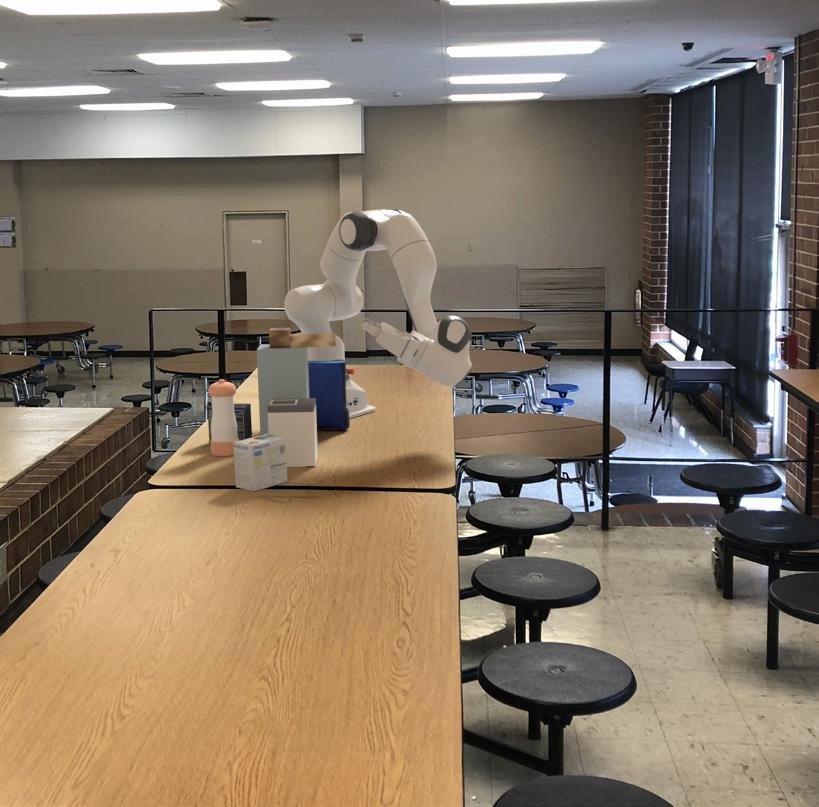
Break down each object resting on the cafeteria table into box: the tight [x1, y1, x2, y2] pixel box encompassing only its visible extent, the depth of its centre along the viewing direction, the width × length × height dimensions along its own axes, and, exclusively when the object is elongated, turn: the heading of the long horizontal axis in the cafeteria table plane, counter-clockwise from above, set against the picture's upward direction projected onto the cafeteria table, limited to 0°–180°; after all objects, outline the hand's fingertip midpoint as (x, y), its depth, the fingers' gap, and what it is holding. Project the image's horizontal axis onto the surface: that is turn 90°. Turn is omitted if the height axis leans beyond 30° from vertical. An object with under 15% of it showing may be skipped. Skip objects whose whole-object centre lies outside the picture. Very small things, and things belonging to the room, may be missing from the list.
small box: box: [207, 403, 253, 447], centre depth 297 cm, size 11×6×10 cm, turn 84°
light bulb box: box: [233, 434, 288, 492], centre depth 254 cm, size 11×7×11 cm, turn 141°
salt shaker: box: [207, 378, 239, 457], centre depth 285 cm, size 7×7×19 cm
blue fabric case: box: [308, 359, 351, 431], centre depth 310 cm, size 14×5×20 cm, turn 84°
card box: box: [267, 398, 319, 468], centre depth 274 cm, size 11×10×15 cm
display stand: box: [256, 343, 309, 436], centre depth 286 cm, size 13×11×27 cm
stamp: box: [268, 327, 337, 348], centre depth 283 cm, size 16×5×4 cm, turn 91°
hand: (362, 322), depth 282 cm, fingers open, 8 cm apart
